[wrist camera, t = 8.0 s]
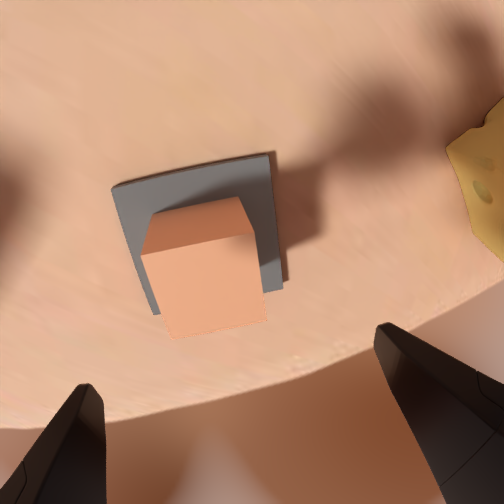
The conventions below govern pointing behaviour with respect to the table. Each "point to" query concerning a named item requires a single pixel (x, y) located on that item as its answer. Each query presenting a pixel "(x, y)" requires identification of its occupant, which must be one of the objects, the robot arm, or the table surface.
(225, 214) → the cube
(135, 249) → the coaster
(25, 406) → the table surface
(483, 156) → the cheese
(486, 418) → the robot arm
